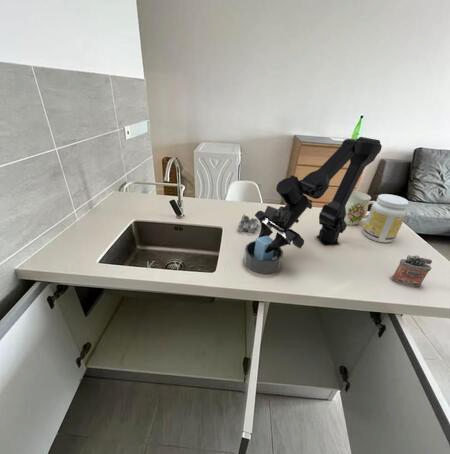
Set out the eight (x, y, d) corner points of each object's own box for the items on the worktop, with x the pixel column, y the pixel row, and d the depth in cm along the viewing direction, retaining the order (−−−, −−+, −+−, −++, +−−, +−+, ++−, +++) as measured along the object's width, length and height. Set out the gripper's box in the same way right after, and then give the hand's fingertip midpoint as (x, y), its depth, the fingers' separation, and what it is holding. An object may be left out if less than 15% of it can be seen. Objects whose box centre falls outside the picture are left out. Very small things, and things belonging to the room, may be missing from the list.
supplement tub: (389, 231, 107) (405, 195, 98) (398, 246, 97) (417, 207, 88) (359, 227, 109) (372, 191, 101) (365, 240, 99) (380, 202, 90)
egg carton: (243, 221, 109) (243, 213, 107) (259, 224, 107) (260, 216, 105) (236, 232, 100) (236, 223, 98) (253, 236, 98) (254, 227, 96)
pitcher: (375, 229, 108) (388, 200, 101) (334, 225, 110) (343, 196, 102) (366, 218, 117) (377, 191, 110) (328, 214, 119) (336, 188, 112)
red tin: (392, 282, 78) (405, 257, 72) (390, 275, 80) (402, 251, 75) (421, 289, 75) (437, 263, 70) (418, 282, 78) (433, 257, 73)
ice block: (263, 257, 85) (266, 235, 80) (271, 264, 81) (275, 241, 77) (253, 260, 82) (256, 238, 78) (261, 268, 79) (264, 245, 75)
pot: (273, 253, 88) (276, 239, 85) (285, 275, 78) (288, 260, 75) (240, 255, 87) (242, 241, 84) (248, 277, 76) (250, 262, 73)
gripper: (262, 187, 79) (231, 224, 79) (305, 209, 65) (268, 253, 66) (277, 205, 86) (249, 239, 87) (318, 228, 73) (285, 268, 74)
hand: (261, 248), depth 78 cm, fingers closed on ice block, 4 cm apart
